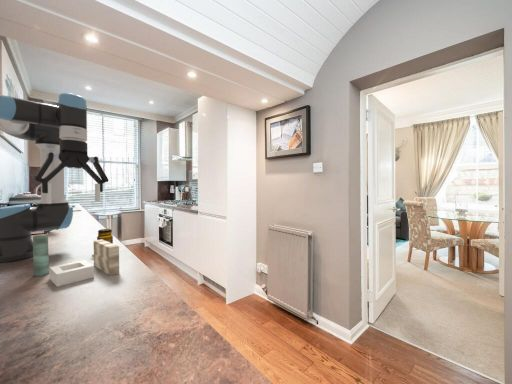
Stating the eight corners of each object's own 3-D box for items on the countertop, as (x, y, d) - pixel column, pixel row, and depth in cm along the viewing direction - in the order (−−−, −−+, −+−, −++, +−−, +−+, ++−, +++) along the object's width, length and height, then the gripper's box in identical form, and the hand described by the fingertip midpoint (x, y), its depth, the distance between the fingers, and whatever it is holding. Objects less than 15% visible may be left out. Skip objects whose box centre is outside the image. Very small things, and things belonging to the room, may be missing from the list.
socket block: (49, 278, 79) (49, 267, 79) (85, 270, 86) (84, 260, 86) (56, 286, 72) (56, 274, 72) (94, 277, 80) (93, 265, 80)
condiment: (114, 256, 104) (113, 230, 104) (91, 259, 100) (90, 232, 99) (113, 252, 110) (113, 227, 110) (92, 255, 106) (91, 229, 106)
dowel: (32, 274, 83) (31, 235, 82) (47, 271, 86) (46, 234, 85) (34, 277, 80) (33, 237, 80) (50, 273, 83) (49, 235, 83)
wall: (93, 265, 92) (93, 240, 92) (102, 263, 94) (102, 239, 94) (110, 275, 82) (109, 247, 81) (119, 273, 84) (118, 246, 84)
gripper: (24, 132, 67) (26, 205, 67) (117, 144, 87) (118, 200, 87) (20, 136, 71) (22, 204, 72) (109, 147, 91) (110, 200, 92)
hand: (75, 202), depth 80 cm, fingers open, 13 cm apart
